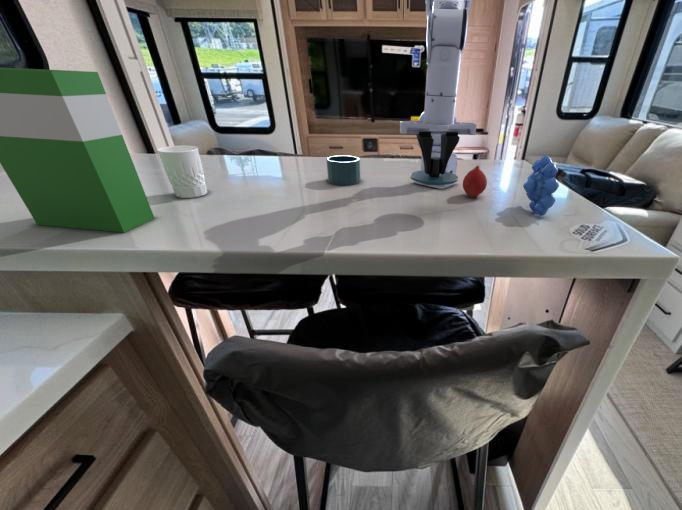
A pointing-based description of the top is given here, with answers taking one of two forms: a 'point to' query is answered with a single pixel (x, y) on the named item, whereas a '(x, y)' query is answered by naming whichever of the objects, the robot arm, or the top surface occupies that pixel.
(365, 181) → the top surface
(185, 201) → the top surface
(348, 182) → the pot
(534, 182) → the grapes
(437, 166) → the lid
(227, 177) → the top surface
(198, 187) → the white cup
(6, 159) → the hardback book
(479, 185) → the onion
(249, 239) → the top surface
